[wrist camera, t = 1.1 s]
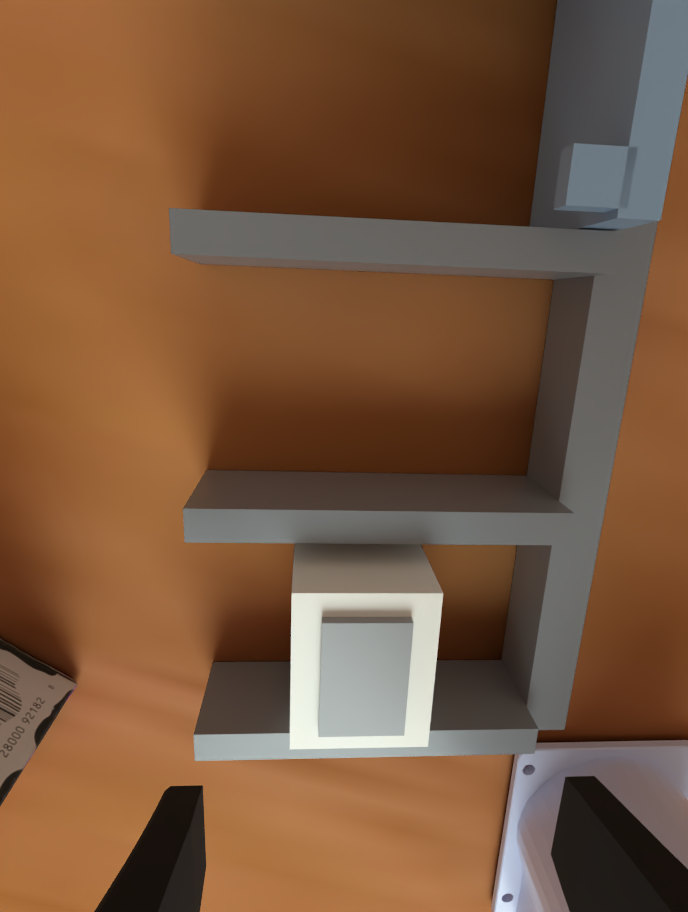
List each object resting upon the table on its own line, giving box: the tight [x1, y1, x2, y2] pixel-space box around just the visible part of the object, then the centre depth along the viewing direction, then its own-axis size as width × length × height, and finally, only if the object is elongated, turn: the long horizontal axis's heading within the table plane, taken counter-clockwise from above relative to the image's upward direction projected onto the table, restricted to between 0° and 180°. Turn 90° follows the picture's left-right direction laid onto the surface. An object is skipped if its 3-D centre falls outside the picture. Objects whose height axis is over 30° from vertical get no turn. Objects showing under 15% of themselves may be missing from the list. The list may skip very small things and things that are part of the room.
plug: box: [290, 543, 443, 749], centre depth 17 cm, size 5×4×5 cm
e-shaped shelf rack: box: [169, 0, 688, 761], centre depth 15 cm, size 24×12×5 cm, turn 178°
